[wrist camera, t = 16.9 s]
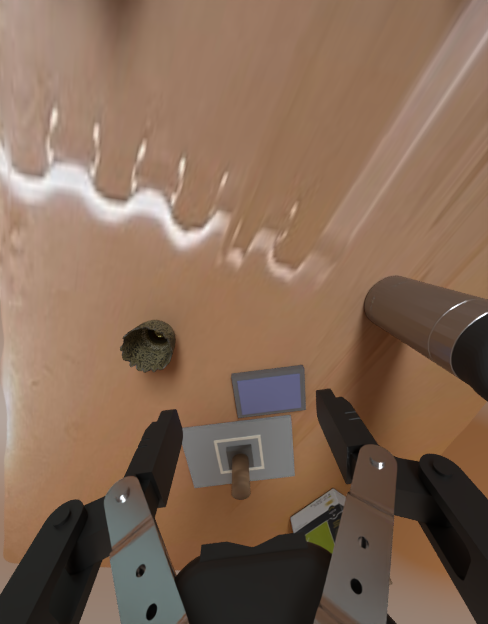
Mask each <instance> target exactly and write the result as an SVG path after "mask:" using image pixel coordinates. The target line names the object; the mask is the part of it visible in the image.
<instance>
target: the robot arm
mask: <svg viewBox="0 0 488 624" xmlns="http://www.w3.org/2000/svg"><path fill="white" fill-rule="evenodd" d="M365 312H366V315H367V317H368V318H369V319H370V320H371V321H372V322H373V323H375V324H376V325H378V326H379V327H381V328H382V329H384V330H385V331H387V332H388V333H390V334H391V335H393V336H394V337H396V338H398V339H399V340H401V341H402V342H404V343H405V344H407V345H408V346H410V347H411V348H413V349H414V350H416V351H417V352H419V353H421V354H422V355H424V356H425V357H427V358H428V359H430V360H431V361H433V362H434V363H436V364H437V365H439V366H441V367H442V368H444V369H445V370H447V371H448V372H450V373H451V374H453V375H454V376H456V377H458V378H459V379H461V380H462V381H464V382H465V383H467V384H468V385H470V386H471V387H472V388H473V389H474V391H475V392H476V393H478V394H479V395H480V396H481V397H482V398H484V399H485V400H486V401H488V299H484V298H480V297H477V296H473V295H469V294H465V293H461V292H458V291H454V290H450V289H446V288H443V287H439V286H435V285H431V284H427V283H424V282H420V281H417V280H413V279H409V278H405V277H401V276H391V277H387V278H384V279H383V280H381V281H379V282H378V283H376V284H375V285H374V286H373V287H372V288H371V289H370V291H369V293H368V294H367V297H366V299H365ZM316 408H317V417H318V421H319V423H320V426H321V428H322V430H323V433H324V435H325V437H326V439H327V442H328V444H329V446H330V448H331V451H332V453H333V455H334V458H335V460H336V462H337V464H338V467H339V469H340V471H341V474H342V476H343V478H344V480H345V483H346V484H351V488H350V492H348V493H347V496H346V500H345V504H344V508H343V512H342V516H341V520H340V524H339V528H338V533H337V537H336V541H335V545H334V549H333V553H330V552H329V551H328V550H326V549H325V548H323V547H321V546H319V545H317V544H314V543H312V542H307V541H306V537H305V533H304V532H298V533H290V534H283V535H278V536H276V537H274V538H272V539H270V540H268V541H266V542H264V543H262V544H260V545H258V546H255V547H248V546H244V545H239V544H235V543H230V542H220V543H213V544H205V545H201V554H200V556H198V557H197V558H195V559H194V560H192V561H191V562H190V563H188V564H187V565H186V566H185V567H184V568H183V569H182V570H181V571H180V572H179V573H178V575H176V573H175V570H174V567H173V565H172V562H171V560H170V557H169V555H168V552H167V549H166V547H165V544H164V541H163V538H162V536H161V533H160V530H159V528H158V525H157V522H156V520H155V515H156V511H157V508H162V507H166V504H167V500H168V496H169V492H170V488H171V484H172V481H173V477H174V473H175V469H176V465H177V461H178V457H179V453H180V449H181V445H182V441H183V429H182V426H181V423H180V419H179V416H178V413H177V410H176V409H173V410H165V411H162V412H161V413H160V416H159V418H158V421H157V422H152V423H151V424H150V426H149V427H148V428H147V429H146V430H145V432H144V434H143V437H142V439H141V441H140V443H139V445H138V448H137V450H136V452H135V454H134V456H133V458H132V461H131V463H130V465H129V467H128V469H127V472H126V474H125V476H124V478H122V479H121V480H119V481H118V482H116V483H115V484H114V485H113V486H112V487H111V488H110V490H109V491H108V492H107V494H106V496H104V497H102V498H100V499H98V500H95V501H93V502H91V503H89V504H87V505H83V503H82V502H81V501H80V500H76V499H75V500H70V501H68V502H66V503H64V504H62V505H61V506H60V507H58V508H57V509H56V510H55V511H54V512H53V513H52V514H51V515H50V516H49V517H48V518H47V520H46V521H45V523H44V524H43V526H42V528H41V529H40V531H39V533H38V534H37V536H36V537H35V539H34V541H33V542H32V544H31V546H30V547H29V549H28V550H27V552H26V554H25V555H24V557H23V559H22V560H21V562H20V563H19V565H18V567H17V568H16V570H15V572H14V573H13V575H12V577H11V578H10V580H9V581H8V583H7V585H6V586H5V588H4V589H3V591H2V593H1V594H0V624H79V622H80V620H81V617H82V614H83V611H84V609H85V606H86V603H87V600H88V597H89V595H90V592H91V590H92V587H93V584H94V581H95V579H96V576H97V573H98V570H99V568H100V565H101V562H102V560H103V559H104V558H106V557H108V556H110V563H111V569H112V575H113V580H114V586H115V592H116V597H117V604H118V609H119V615H120V621H121V624H396V623H395V621H394V620H393V619H392V618H391V617H390V616H389V615H388V614H387V607H388V593H389V580H390V566H391V553H392V539H393V526H394V515H396V516H400V517H404V518H408V519H412V520H416V521H418V522H419V524H420V525H421V527H422V529H423V531H424V533H425V534H426V536H427V538H428V540H429V541H430V543H431V545H432V546H433V548H434V550H435V552H436V553H437V555H438V557H439V558H440V560H441V562H442V564H443V566H444V567H445V569H446V571H447V573H448V574H449V576H450V578H451V579H452V581H453V583H454V585H455V586H456V588H457V590H458V591H459V593H460V595H461V597H462V598H463V600H464V602H465V604H466V605H467V607H468V609H469V611H470V612H471V614H472V616H473V617H474V619H475V621H476V623H477V624H488V499H487V498H486V497H485V496H484V495H483V493H482V492H481V491H480V490H479V489H478V488H477V487H476V486H475V484H474V483H473V482H472V481H471V480H470V479H469V478H468V476H467V475H466V474H465V473H464V472H463V471H462V470H461V469H460V468H459V467H458V466H457V465H456V464H455V463H454V462H452V461H451V460H449V459H447V458H445V457H443V456H440V455H437V454H425V455H423V456H422V457H421V458H420V462H418V461H412V460H407V459H401V458H397V457H395V456H393V455H392V454H391V453H390V452H389V451H388V450H386V449H385V448H383V447H381V446H379V445H378V444H377V442H376V441H375V439H374V438H373V436H372V435H371V433H370V432H369V430H368V429H367V427H366V426H365V424H364V423H363V422H362V420H361V419H360V417H359V416H358V414H357V413H356V412H355V410H354V408H353V407H352V405H351V404H350V403H349V402H348V401H347V400H345V399H344V398H343V397H337V398H336V397H335V395H334V394H333V392H332V390H331V389H322V390H316Z"/></svg>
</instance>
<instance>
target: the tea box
mask: <svg viewBox="0 0 488 624" xmlns="http://www.w3.org/2000/svg"><path fill="white" fill-rule="evenodd" d="M345 500H346V497H345V496H344V495H342V494H341V493H339V492H338V491H337V490H335V489H331V490H330V491H329V492H327V493H326V494H324V495H323V496H321V497H320V498H318V499H317V500H315V501H314V502H313V503H311V504H310V505H308V506H307V507H305V508H304V509H302V510H301V511H299V512H298V513H296V514H295V515H293V516H292V517H291V518H290V519H291V524H292V529H293V533H298V532H304V533H305V537H306V541H307V542H312V543H314V544H317V545H319V546H321V547H323V548H325V549H326V550H328V551H329V552H330V553H333V549H334V545H335V541H336V537H337V533H338V528H339V524H340V520H341V516H342V512H343V508H344V504H345ZM391 584H392V581H391V579H390V580H389V585H391Z"/></svg>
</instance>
